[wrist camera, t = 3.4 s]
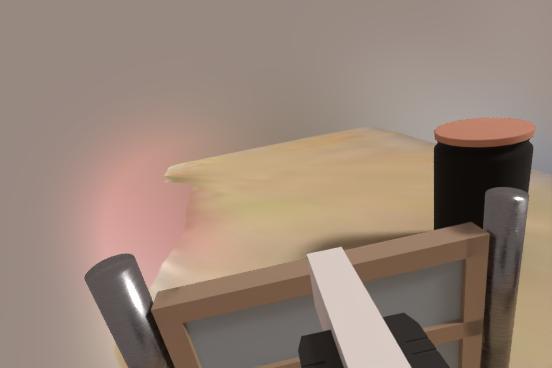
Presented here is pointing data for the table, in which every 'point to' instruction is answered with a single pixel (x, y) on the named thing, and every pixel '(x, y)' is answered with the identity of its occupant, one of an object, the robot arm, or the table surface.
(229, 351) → the gate leaf
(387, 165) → the table surface
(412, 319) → the robot arm
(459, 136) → the coffee jar
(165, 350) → the hinge post
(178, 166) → the table surface
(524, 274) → the table surface
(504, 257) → the post
